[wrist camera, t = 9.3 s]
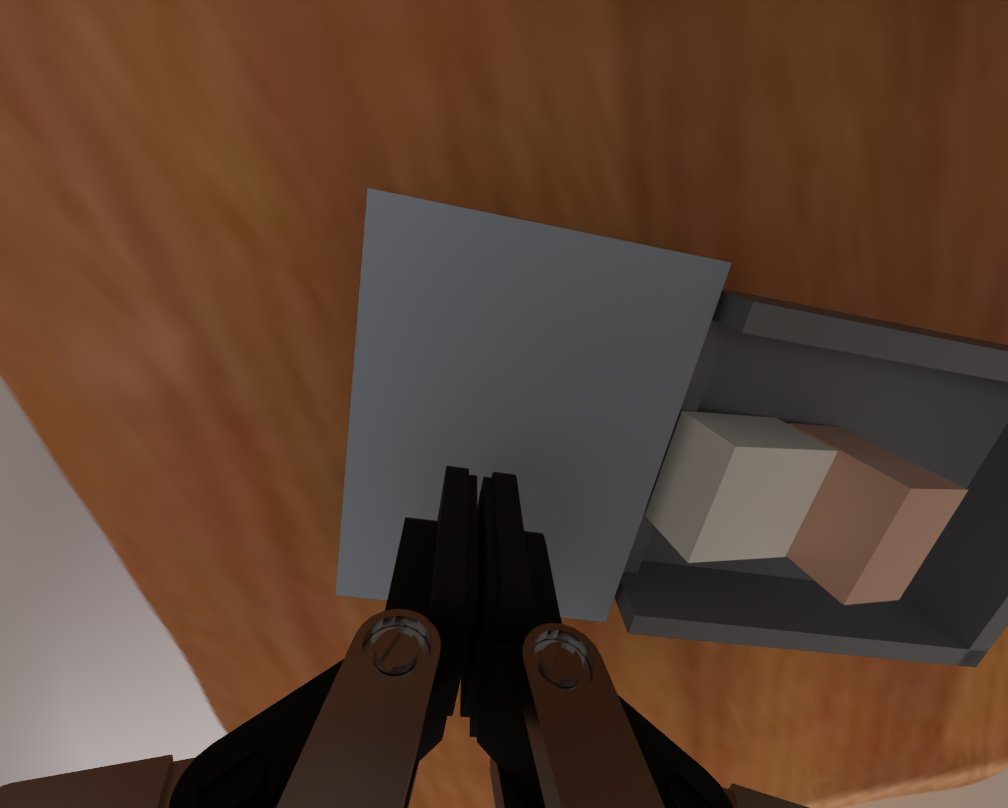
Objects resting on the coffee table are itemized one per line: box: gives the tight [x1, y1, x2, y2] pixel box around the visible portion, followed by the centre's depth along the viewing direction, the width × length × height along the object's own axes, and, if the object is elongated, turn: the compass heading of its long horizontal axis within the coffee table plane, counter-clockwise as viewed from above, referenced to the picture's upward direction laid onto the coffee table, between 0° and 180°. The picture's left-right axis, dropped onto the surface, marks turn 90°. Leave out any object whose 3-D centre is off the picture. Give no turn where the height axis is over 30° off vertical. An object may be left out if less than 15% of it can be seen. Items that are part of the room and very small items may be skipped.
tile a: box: [645, 411, 838, 563], centre depth 19 cm, size 5×5×3 cm
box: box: [615, 289, 1008, 667], centre depth 20 cm, size 14×17×4 cm
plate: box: [336, 188, 732, 622], centre depth 19 cm, size 16×12×2 cm
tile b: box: [786, 423, 968, 605], centre depth 19 cm, size 5×5×3 cm
